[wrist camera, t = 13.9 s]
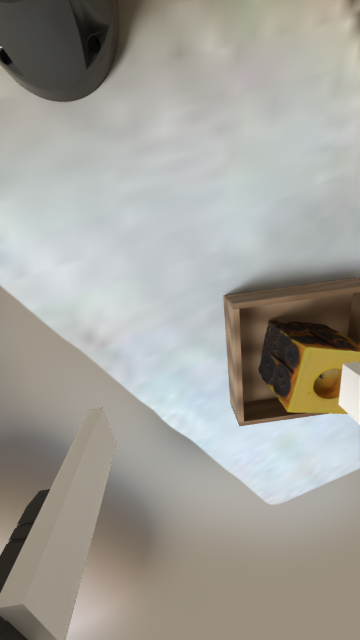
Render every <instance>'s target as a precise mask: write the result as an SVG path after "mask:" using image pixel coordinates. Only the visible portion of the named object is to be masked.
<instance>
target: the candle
mask: <svg viewBox="0 0 360 640" xmlns="http://www.w3.org/2000/svg"><path fill="white" fill-rule="evenodd" d="M351 362H359V363H360V343H359V342H357V341H356V340H352V339H350V338H348V337H346V336H344V335H343V334H341V333H340V332H339V331H336V330H334V329H332V328H329V327H328V326H327V325H324V324H315V323H307V322H292V321H291V322H289V323H282V322H279V321H274V320H272V321H270V320H269V321H268V326H267V332H266V334H265V339H264V343H263V350H262V354H261V362H260V366H259V368H258V369H259V373H260V375H261V377H262V379H263V381H264V382H266V384H267V385H268V386H269V387H270V388H271V390H272V391H273V392H274V394H275V395H276V396H277V397H278V398H279V401H280V402H281V403H282V404H283V406H284V408H285V409H286V410H287V412H294V413H333V414H348V413H347V412H346V411H345V410H344V409H343V408H342V407H341V406H340V405H338V404H339V395H340V385H341V376H342V367H343V364H346V363H351Z"/></svg>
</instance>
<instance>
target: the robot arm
mask: <svg viewBox="0 0 360 640" xmlns="http://www.w3.org/2000/svg"><path fill="white" fill-rule="evenodd" d="M118 31H119V20H118V9H117V2H116V0H0V65H1V66H2V67H3V68H4V69H5V70H6V71H7V72H8V74H9V75H10V76H11V77H12V78H13V79H14V80H15V81H16V82H18V83H19V84H20V85H21V86H22V87H24V88H25V89H27V90H28V91H30V92H31V93H33V94H35V95H37V96H39V97H42V98H44V99H48V100H52V101H59V102H66V101H73V100H77V99H80V98H82V97H84V96H86V95H88V94H89V93H91V92H92V91H93V90H95V89H96V88H97V87H98V86H99V85H100V83H101V82H102V81H103V80H104V78H105V77H106V75H107V73H108V71H109V69H110V67H111V65H112V62H113V59H114V56H115V53H116V48H117V42H118ZM338 405H340V406H341V407H342V408H343V409H344V410H345V411H346V412H347V413H348V414H349V415H350V416H351V417H352V418H353V419H354V420H355V421H356V422H357V423H358V424H359V425H360V363H359V362H351V363H346V364H343V367H342V376H341V385H340V395H339V404H338ZM115 448H116V441H115V438H114V436H113V433H112V431H111V428H110V426H109V423H108V421H107V418H106V416H105V413H104V410H103V408H102V407H101V408H97V409H90V410H88V412H87V414H86V416H85V418H84V420H83V422H82V425H81V427H80V429H79V431H78V433H77V435H76V437H75V439H74V441H73V443H72V445H71V447H70V449H69V451H68V454H67V456H66V458H65V460H64V462H63V464H62V466H61V468H60V470H59V472H58V474H57V477H56V479H55V481H54V483H53V485H52V487H51V489H48V490H42V491H39V492H38V494H37V495H36V496H35V497H34V499H33V500H32V501H31V502H30V503H29V505H28V506H27V507H26V509H25V511H24V513H23V515H22V517H21V518H20V520H19V522H18V524H17V528H15V530H14V531H13V533H12V535H11V537H10V539H9V543H8V544H6V546H5V548H4V550H3V552H2V554H1V555H0V640H66V636H67V632H68V628H69V624H70V621H71V617H72V613H73V609H74V605H75V602H76V598H77V594H78V590H79V586H80V582H81V579H82V574H83V571H84V567H85V563H86V559H87V555H88V552H89V548H90V544H91V540H92V536H93V532H94V529H95V524H96V520H97V517H98V513H99V509H100V506H101V501H102V498H103V494H104V490H105V486H106V482H107V479H108V475H109V471H110V467H111V463H112V459H113V456H114V451H115Z"/></svg>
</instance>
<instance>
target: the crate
mask: <svg viewBox="0 0 360 640" xmlns="http://www.w3.org/2000/svg"><path fill="white" fill-rule="evenodd" d="M224 311H225V327H226V342H227V357H228V372H229V387H230V402H231V406H232V409H233V411H234V414H235V416H236V419H237V421H238V424H239V426H244V425H251V424H258V423H265V422H272V421H279V420H286V419H293V418H301V417H308V416H315V415H322V414H329V413H294V412H287V410H286V409H285V408H284V406H283V404H282V403H281V402H280V401H279V398H278V397H277V396H276V395H275V394H274V392H273V391H272V390H271V388H270V387H269V386H268V385H267V384H266V382H264V381H263V379H262V377H261V375H260V373H259V369H258V368H259V366H260V362H261V354H262V350H263V343H264V339H265V334H266V332H267V326H268V321H269V320H270V321H272V320H274V321H279V322H282V323H289V322H291V321H292V322H307V323H315V324H324V325H327V326H328V327H329V328H332V329H334V330H336V331H339V332H340V333H341V334H343V335H344V336H346V337H348V338H350V339H352V340H356V341H357V342H359V343H360V278H348V279H341V280H333V281H326V282H319V283H312V284H305V285H298V286H290V287H283V288H276V289H269V290H262V291H255V292H247V293H240V294H233V295H226V296H224Z"/></svg>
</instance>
